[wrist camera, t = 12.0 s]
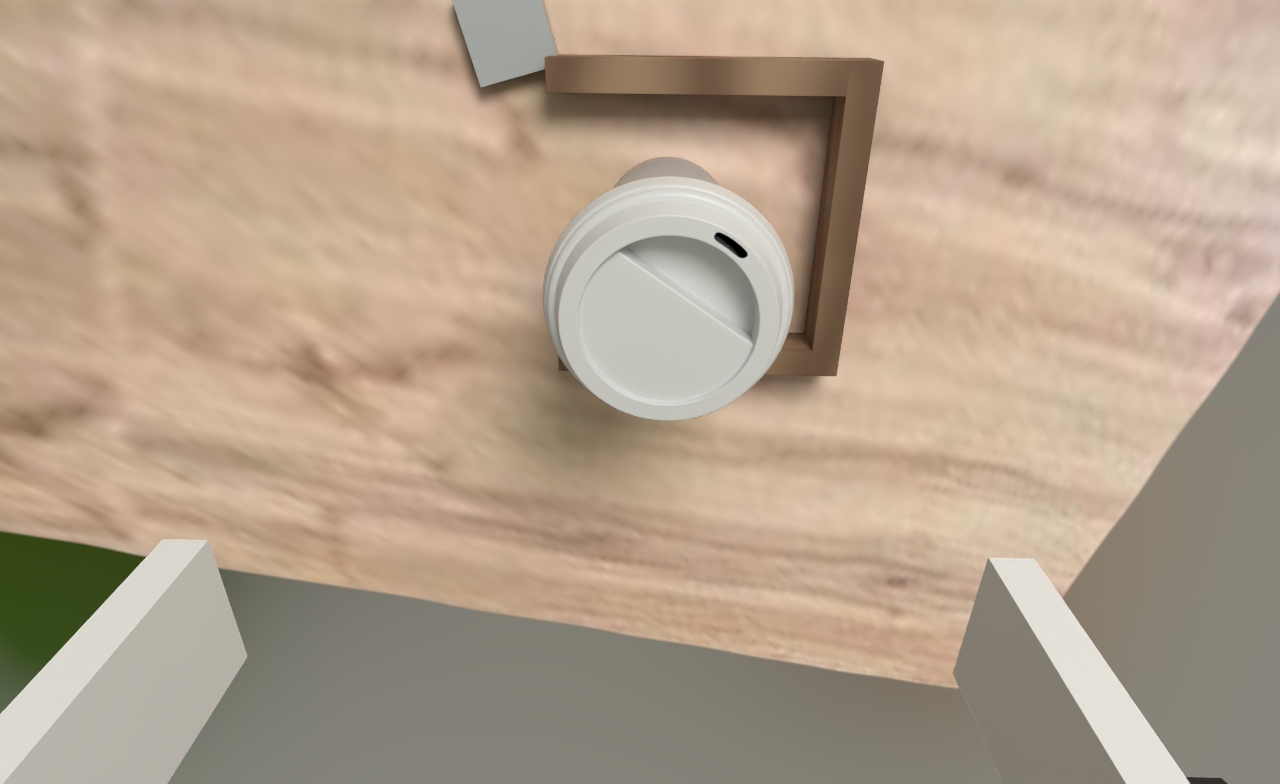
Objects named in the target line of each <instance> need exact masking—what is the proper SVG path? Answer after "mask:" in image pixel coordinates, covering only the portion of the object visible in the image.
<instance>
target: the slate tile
mask: <svg viewBox="0 0 1280 784" xmlns="http://www.w3.org/2000/svg"><path fill="white" fill-rule="evenodd" d="M452 2H453V5H454V8H455V11H456V14H457V17H458V20H459V23H460V26H461V29H462V32H463V35H464V38H465V41H466V44H467V47H468V50H469V53H470V56H471V59H472V63H473V66H474V69H475V72H476V75H477V78H478V81H479V84H480V87H484V86H488V85H491V84H495V83H498V82H502V81H505V80H509V79H512V78H516V77H519V76H523V75H526V74H530V73H533V72H537V71H540V70H544V69H545V57H547V56H557V55H559V54H558V50H557V46H556V43H555V39H554V36H553V32H552V29H551V25H550V21H549V18H548V14H547V11H546V7H545V4H544V0H452Z"/></svg>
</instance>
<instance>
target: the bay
mask: <svg viewBox="0 0 1280 784" xmlns="http://www.w3.org/2000/svg"><path fill="white" fill-rule="evenodd" d="M883 65H884V61H880V60H876V59H871V58H803V57H720V56H636V55H557V56H547V57H545V78H546V92H548V93H625V94H702V95H778V96H834V103H833V111H832V119H831V127H830V135H829V143H828V151H827V159H826V167H825V175H824V183H823V191H822V199H821V207H820V215H819V223H818V231H817V239H816V247H815V255H814V263H813V271H812V279H811V287H810V295H809V303H808V311H807V319H806V327H805V333H788V334H787V337H786V339H785V342H784V344H783V346H782V349H781V351H780V352H779V354H778V356H777V358H776V359H775V361H774V362H773V364H772V365H771V367H770V368H769V369H768V371H767V372H766V373H765V374H764V375H802V376H836V375H837V369H838V362H839V355H840V349H841V342H842V336H843V329H844V322H845V316H846V309H847V303H848V296H849V289H850V283H851V276H852V270H853V263H854V256H855V250H856V243H857V237H858V230H859V223H860V217H861V210H862V204H863V197H864V190H865V184H866V177H867V171H868V164H869V157H870V151H871V144H872V138H873V131H874V124H875V118H876V111H877V105H878V98H879V91H880V85H881V78H882V72H883ZM559 370H562V371H569V370H568V369H567V367H566V366H565V365H564V363H563V362H562V360H561V358H560V357H559Z"/></svg>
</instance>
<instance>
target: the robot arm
mask: <svg viewBox="0 0 1280 784" xmlns="http://www.w3.org/2000/svg"><path fill="white" fill-rule="evenodd" d="M246 658H247V654H246V651H245V648H244V645H243V642H242V639H241V636H240V633H239V630H238V627H237V624H236V621H235V618H234V615H233V612H232V609H231V606H230V603H229V600H228V597H227V594H226V591H225V588H224V585H223V582H222V580H221V577H220V573H219V570H218V568H217V565H216V562H215V559H214V556H213V553H212V550H211V547H210V544H209V541H208V540H181V539H163V540H162V541H161V542H160V543H159V544H158V545H157V546H156V547H155V549H154V550H153V551H152V552H151V553H150V554H149V555H148V556H147V557H146V558H145V559H144V560H143V561H142V562H141V564H140V565H139V566H138V567H137V568H136V569H135V570H134V571H133V572H132V573H131V574H130V576H129V577H128V578H127V579H126V580H125V581H124V582H123V583H122V584H121V585H120V586H119V587H118V588H117V589H116V590H115V592H114V593H113V594H112V595H111V596H110V597H109V598H108V599H107V600H106V601H105V602H104V604H103V605H102V606H101V607H100V608H99V609H98V610H97V611H96V612H95V613H94V614H93V615H92V616H91V617H90V618H89V620H88V621H87V622H86V623H85V624H84V625H83V626H82V627H81V628H80V629H79V630H78V631H77V633H76V634H75V635H74V636H73V637H72V638H71V639H70V640H69V641H68V642H67V643H66V644H65V645H64V646H63V648H62V649H61V650H60V651H59V652H58V653H57V654H56V655H55V656H54V657H53V658H52V659H51V660H50V662H48V664H47V665H46V666H45V667H44V668H43V669H42V670H41V671H40V672H39V673H38V674H37V676H35V678H34V679H33V680H32V681H31V682H30V683H29V684H28V685H27V686H26V687H25V688H24V689H23V690H22V692H21V693H20V694H19V695H18V696H17V697H16V698H15V699H14V700H13V701H12V702H11V704H9V705H8V707H7V708H6V709H5V710H4V711H3V712H2V713H1V714H0V784H167V783H168V782H169V780H170V778H171V777H172V775H173V774H174V772H175V771H176V769H177V767H178V766H179V764H180V762H181V761H182V759H183V758H184V756H185V754H186V753H187V751H188V750H189V748H190V747H191V745H192V744H193V742H194V740H195V739H196V737H197V735H198V734H199V733H200V731H201V729H202V728H203V726H204V725H205V723H206V721H207V719H208V718H209V717H210V715H211V713H212V712H213V710H214V709H215V707H216V706H217V703H218V702H219V701H220V699H221V697H222V696H223V694H224V693H225V691H226V690H227V688H228V686H229V685H230V683H231V682H232V680H233V679H234V677H235V675H236V674H237V672H238V671H239V669H240V668H241V666H242V664H243V663H244V661H245V660H246ZM953 675H954V677H955V679H956V681H957V684H958V686H959V688H960V690H961V693H962V695H963V697H964V699H965V701H966V704H967V706H968V708H969V710H970V713H971V715H972V717H973V719H974V722H975V724H976V726H977V728H978V730H979V733H980V735H981V737H982V739H983V742H984V744H985V746H986V748H987V750H988V753H989V755H990V757H991V759H992V762H993V764H994V766H995V768H996V770H997V773H998V775H999V777H1000V779H1001V782H1002V784H1227V783H1226V782H1225V781H1224V780H1223V779H1222V778H1194V777H1185V776H1184V774H1183V773H1182V771H1181V770H1180V768H1179V767H1178V765H1177V764H1176V763H1175V761H1174V760H1173V758H1172V757H1171V755H1170V754H1169V752H1168V751H1167V750H1166V748H1165V747H1164V745H1163V744H1162V743H1161V741H1160V740H1159V738H1158V737H1157V735H1156V734H1155V732H1154V731H1153V730H1152V728H1151V727H1150V725H1149V723H1148V722H1147V721H1146V719H1145V718H1144V716H1143V715H1142V713H1141V712H1140V711H1139V709H1138V708H1137V706H1136V705H1135V703H1134V702H1133V701H1132V699H1131V698H1130V696H1129V695H1128V693H1127V692H1126V690H1125V689H1124V687H1123V686H1122V684H1121V683H1120V682H1119V680H1118V679H1117V677H1116V676H1115V674H1114V673H1113V671H1112V670H1111V669H1110V667H1109V666H1108V664H1107V663H1106V661H1105V660H1104V659H1103V657H1102V656H1101V654H1100V653H1099V651H1098V650H1097V648H1096V647H1095V645H1094V644H1093V643H1092V641H1091V640H1090V638H1089V637H1088V635H1087V634H1086V633H1085V631H1084V630H1083V628H1082V627H1081V625H1080V624H1079V622H1078V621H1077V620H1076V618H1075V617H1074V615H1073V614H1072V612H1071V611H1070V609H1069V608H1068V606H1067V605H1066V604H1065V602H1064V601H1063V599H1062V598H1061V596H1060V595H1059V593H1058V592H1057V591H1056V589H1055V588H1054V586H1053V585H1052V583H1051V582H1050V580H1049V579H1048V578H1047V576H1046V575H1045V573H1044V572H1043V570H1042V569H1041V567H1040V566H1039V565H1038V563H1037V562H1036V560H1035V559H1029V558H988V560H987V564H986V567H985V570H984V573H983V577H982V580H981V583H980V587H979V590H978V593H977V596H976V600H975V603H974V606H973V609H972V613H971V616H970V619H969V622H968V626H967V629H966V632H965V635H964V639H963V642H962V645H961V649H960V652H959V655H958V658H957V662H956V665H955V668H954V671H953Z"/></svg>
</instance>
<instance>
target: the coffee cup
mask: <svg viewBox="0 0 1280 784" xmlns="http://www.w3.org/2000/svg"><path fill="white" fill-rule="evenodd" d="M543 307H544V314H545V320H546V324H547V328H548V331H549V334H550V337H551V340H552V342H553V345H554V347H555V349H556V351H557V353H558V355H559V357H560V358H561V360H562V362H563V363H564V365H565V366H566V367H567V369H568V370H569V371H570V373H571V374H572V375H573V376H574V377H575V378H576V379H577V380H578V381H579V382H580V383H581V384H582V385H583V386H584V387H585V388H586V389H587V390H588V391H590V392H591V393H592V394H593V395H595V396H596V397H598V398H599V399H601V400H602V401H604V402H605V403H607V404H608V405H610V406H612V407H614V408H616V409H618V410H620V411H622V412H625V413H627V414H630V415H633V416H636V417H640V418H645V419H651V420H660V421H677V420H686V419H691V418H696V417H700V416H703V415H706V414H709V413H712V412H714V411H716V410H719V409H721V408H723V407H724V406H726V405H728V404H730V403H731V402H733V401H734V400H736V399H737V398H738V397H740V396H741V395H743V394H744V393H745V392H747V391H748V390H749V389H750V388H751V387H753V386H754V385H755V384H756V383H757V382H758V381H759V380H760V379H761V378H762V376H763V375H764V374H765V373H766V372H767V371H768V369H769V368H770V367H771V365H772V364H773V362H774V361H775V359H776V358H777V356H778V354H779V352H780V351H781V349H782V346H783V344H784V342H785V339H786V337H787V334H788V331H789V327H790V323H791V319H792V314H793V308H794V280H793V274H792V269H791V265H790V262H789V259H788V256H787V253H786V251H785V248H784V246H783V244H782V242H781V240H780V238H779V237H778V235H777V233H776V232H775V230H774V229H773V228H772V226H771V225H770V224H769V222H768V221H767V220H766V219H765V218H764V217H763V215H762V214H761V213H760V212H759V211H757V210H756V209H755V208H754V207H753V206H752V205H751V204H749V203H748V202H747V201H745V200H744V199H743V198H741V197H739V196H738V195H736V194H734V193H733V192H731V191H729V190H727V189H725V188H723V187H720V186H719V185H718V183H717V182H716V181H715V180H714V179H713V178H712V176H711V175H710V174H709V173H707V172H706V171H705V170H704V169H703V168H701V167H700V166H698V165H696V164H694V163H692V162H690V161H687V160H684V159H680V158H674V157H660V158H654V159H650V160H647V161H645V162H642V163H640V164H638V165H637V166H635V167H633V168H632V169H631V170H629V171H628V172H627V173H626V174H625V175H624V176H623V177H622V178H621V179H620V180H619V182H618V183H617V184H616V185H615V187H614V188H613V189H612V190H610V191H608V192H606V193H604V194H603V195H601V196H599V197H598V198H596V199H595V200H593V201H592V202H591V203H589V204H588V205H587V206H586V207H584V208H583V209H582V210H581V211H580V212H579V213H578V214H577V215H576V216H575V217H574V218H573V219H572V220H571V222H570V223H569V224H568V225H567V227H566V228H565V229H564V231H563V232H562V234H561V235H560V237H559V239H558V240H557V242H556V244H555V246H554V248H553V251H552V253H551V255H550V258H549V261H548V264H547V268H546V272H545V277H544V285H543Z"/></svg>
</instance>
